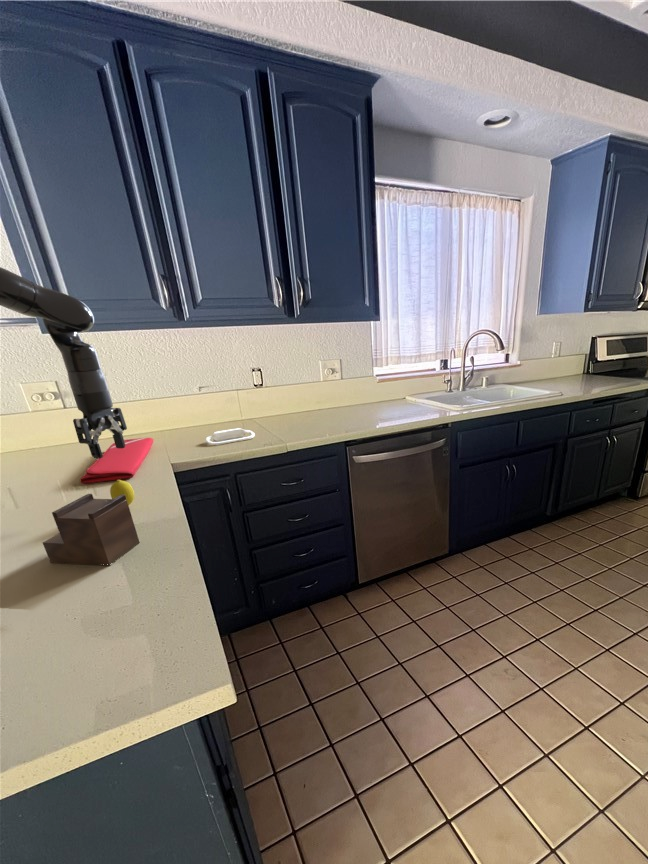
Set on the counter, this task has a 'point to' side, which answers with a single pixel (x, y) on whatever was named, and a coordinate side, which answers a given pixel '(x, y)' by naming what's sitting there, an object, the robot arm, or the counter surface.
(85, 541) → the wooden step block
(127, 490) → the lemon
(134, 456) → the folded red towel
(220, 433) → the white butter dish
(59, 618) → the counter surface
